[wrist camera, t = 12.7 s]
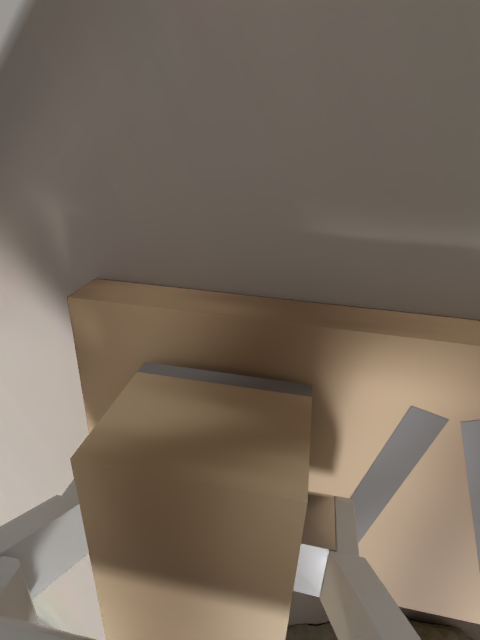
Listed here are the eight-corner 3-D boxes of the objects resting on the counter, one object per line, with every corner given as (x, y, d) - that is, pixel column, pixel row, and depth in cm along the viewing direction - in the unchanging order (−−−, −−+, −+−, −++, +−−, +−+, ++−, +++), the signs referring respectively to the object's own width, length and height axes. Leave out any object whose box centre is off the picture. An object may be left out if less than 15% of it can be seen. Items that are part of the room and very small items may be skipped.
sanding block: (312, 384, 10) (307, 502, 7) (287, 563, 13) (275, 699, 10) (144, 361, 11) (70, 458, 7) (158, 536, 14) (109, 656, 10)
